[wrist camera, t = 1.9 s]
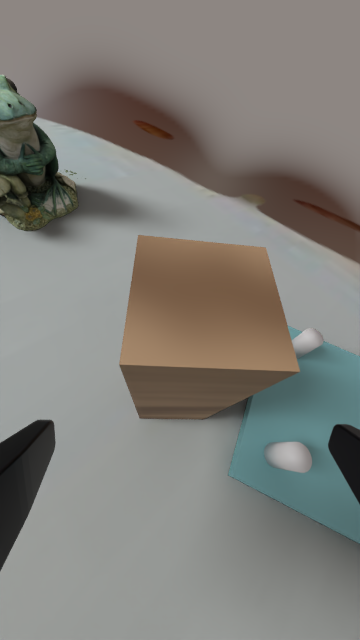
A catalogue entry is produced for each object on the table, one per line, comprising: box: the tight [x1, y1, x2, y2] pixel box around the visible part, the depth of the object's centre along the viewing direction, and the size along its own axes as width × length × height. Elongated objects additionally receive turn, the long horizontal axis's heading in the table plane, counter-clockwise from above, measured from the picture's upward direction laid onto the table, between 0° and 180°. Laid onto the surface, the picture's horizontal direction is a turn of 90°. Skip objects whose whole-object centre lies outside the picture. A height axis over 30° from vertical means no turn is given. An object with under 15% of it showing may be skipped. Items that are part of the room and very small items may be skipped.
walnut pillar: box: [119, 235, 300, 419], centre depth 13 cm, size 5×5×13 cm
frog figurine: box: [0, 75, 86, 231], centre depth 23 cm, size 18×18×12 cm
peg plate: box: [228, 326, 360, 544], centre depth 17 cm, size 14×14×4 cm
